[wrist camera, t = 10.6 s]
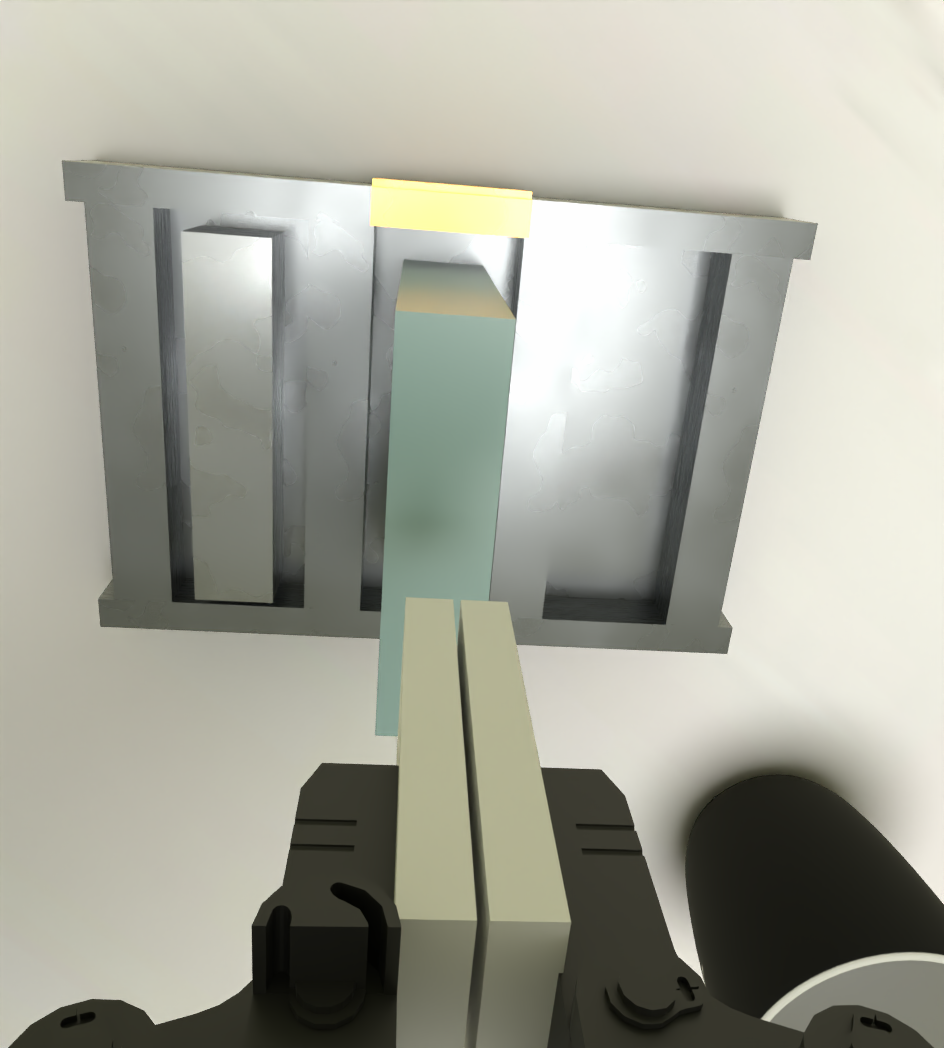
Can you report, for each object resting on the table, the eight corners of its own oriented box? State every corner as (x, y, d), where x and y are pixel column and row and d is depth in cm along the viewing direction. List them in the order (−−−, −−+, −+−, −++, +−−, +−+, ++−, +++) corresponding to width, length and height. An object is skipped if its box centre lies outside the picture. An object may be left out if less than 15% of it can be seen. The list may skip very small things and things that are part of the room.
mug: (612, 846, 37) (677, 1078, 28) (775, 705, 35) (905, 904, 26) (797, 980, 41) (910, 1226, 31) (956, 859, 38) (1128, 1084, 29)
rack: (123, 588, 32) (89, 637, 28) (93, 152, 26) (47, 151, 23) (705, 615, 33) (736, 664, 30) (785, 211, 28) (833, 217, 25)
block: (388, 562, 31) (375, 735, 21) (404, 259, 27) (395, 310, 18) (458, 565, 31) (475, 739, 22) (483, 265, 27) (516, 319, 18)
